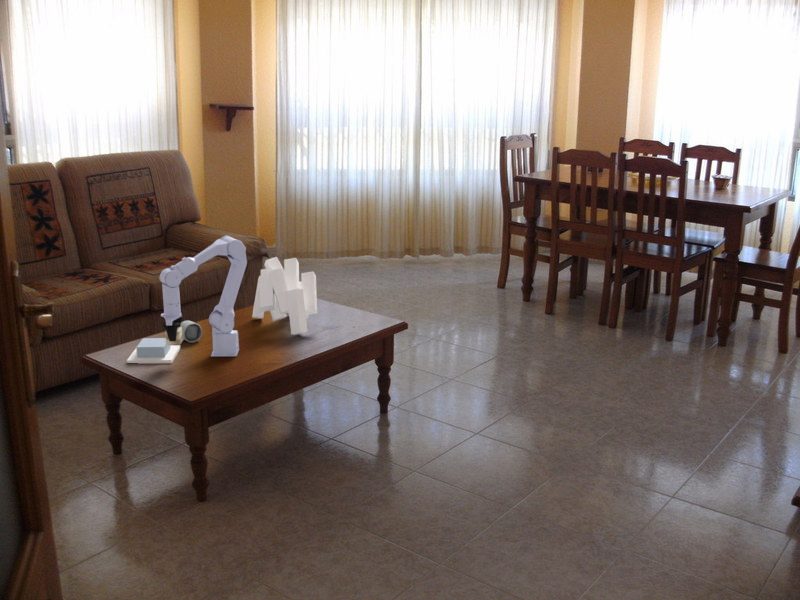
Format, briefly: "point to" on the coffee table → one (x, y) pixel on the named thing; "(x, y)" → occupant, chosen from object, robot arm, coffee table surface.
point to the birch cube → (178, 338)
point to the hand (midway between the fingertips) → (174, 338)
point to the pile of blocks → (286, 293)
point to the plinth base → (155, 360)
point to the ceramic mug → (191, 331)
